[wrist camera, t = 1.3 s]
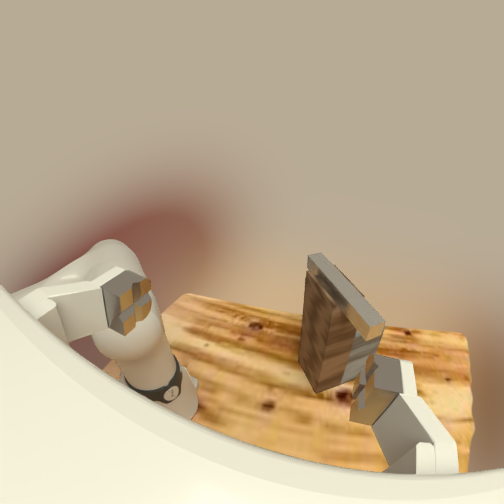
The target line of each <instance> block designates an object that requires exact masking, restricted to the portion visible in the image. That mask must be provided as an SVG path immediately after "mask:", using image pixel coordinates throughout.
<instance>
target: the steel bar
mask: <svg viewBox="0 0 504 504" xmlns="http://www.w3.org/2000/svg"><path fill="white" fill-rule="evenodd" d="M307 268H308V269H309V270H310V272H311V273H312V274H313V275H314V276H315V278H316V279H317V280H318V281H319V283H320V284H321V285H322V286H323V287H324V289H325V290H326V291H327V292H328V294H329V295H330V296H331V297H332V299H333V300H334V301H335V302H336V304H337V305H338V307H339V308H340V309H341V310H342V312H343V313H344V314H345V315H346V317H347V318H348V319H349V320H350V322H351V323H352V324H353V326H354V327H355V328H356V329H357V331H358V332H359V333H360V335H361V336H362V337H363V338H364V340H365V341H368V340H370V339H373V338H375V337H378V336H380V335H381V334H382V331H383V328H384V325H385V322H386V321H385V320H384V319H383V318H382V317H381V316H380V315H379V313H378V312H377V311H376V310H375V309H374V308H373V307H372V306H371V305H370V304H369V302H368V301H367V300H366V299H365V298H364V297H363V296H362V295H361V294H360V293H359V292H358V291H357V290H356V288H355V287H354V286H353V285H352V284H351V283H350V282H349V281H348V280H347V279H346V278H345V277H344V276H343V275H342V274H341V273H340V272H339V271H338V269H337V268H336V267H335V266H334V265H333V264H332V263H331V262H330V261H329V260H328V259H327V258H326V257H325V256H324V255H323V254H322V253H317V254H312V255H308V263H307Z"/></svg>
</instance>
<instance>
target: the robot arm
mask: <svg viewBox="0 0 504 504" xmlns="http://www.w3.org/2000/svg"><path fill="white" fill-rule="evenodd" d="M88 335H91V337H92V339H93V341H94V344H95V346H96V347H97V349H98V350H99V351H100V352H101V353H102V354H103V355H105V356H106V357H108V358H110V359H113V360H115V362H116V363H117V365H118V367H119V368H120V370H121V373H120V376H121V379H120V380H119V381H118V380H116V379H115V378H113V377H111V376H110V375H108V374H107V373H105V372H104V371H102V370H101V369H99V368H98V367H96V366H95V365H93V364H92V363H91V362H89V361H88V360H86V359H85V358H84V357H82V356H81V355H80V354H78V353H77V352H75V351H74V350H73V349H72V348H70V346H69V343H70V342H71V341H73V340H76V339H79V338H82V337H85V336H88ZM198 385H199V383H198V380H197V379H196V378H194V377H192V376H190V375H189V373H188V371H187V369H186V368H185V367H182V366H181V365H180V364H179V362H178V360H177V359H176V357H175V356H174V355H173V353H172V351H171V348H170V345H169V343H168V340H167V337H166V334H165V329H164V325H163V321H162V317H161V313H160V310H159V306H158V303H157V300H156V297H155V295H154V293H153V291H152V289H151V281H150V280H149V279H147V278H146V276H145V274H144V272H143V270H142V267H141V265H140V263H139V260H138V258H137V256H136V255H135V254H134V253H133V251H131V249H129V248H128V247H127V246H126V245H125V244H123V243H122V242H120V241H117V240H112V239H111V240H110V239H109V240H103V241H101V242H99V243H97V244H96V245H94V246H93V247H92V248H91V250H89V251H88V252H87V253H86V254H85V255H83V256H82V257H80V258H78V259H77V260H75V261H73V262H72V263H70V264H69V265H67V266H66V267H64V268H62V269H61V270H59V271H58V272H56V273H55V274H53V275H52V276H50V277H48V278H47V279H45V280H43V281H41V282H39V283H37V284H34V285H32V286H29V287H27V288H25V289H22V290H20V291H18V292H15V293H12V294H10V293H9V292H8V291H7V290H6V289H5V288H4V287H2V285H1V284H0V504H504V468H499V469H493V470H486V471H478V472H469V473H459V468H458V456H457V446H456V442H455V441H454V440H453V438H452V437H451V436H450V434H449V433H448V432H447V430H446V429H445V428H444V426H443V425H442V424H441V422H440V421H439V420H438V418H437V417H436V416H435V415H434V413H433V412H432V411H431V409H430V408H429V407H428V405H427V404H426V403H425V402H424V400H423V399H422V398H421V397H417V389H416V382H415V376H414V370H413V364H412V362H411V361H406V360H401V359H395V358H390V357H386V356H382V355H378V354H374V353H371V354H370V355H369V357H368V358H367V360H366V368H364V369H362V370H360V372H359V374H358V376H357V378H356V380H355V383H354V386H353V391H352V396H353V398H354V400H355V401H354V402H353V403H352V405H351V410H350V419H349V421H352V422H356V423H361V424H365V425H370V426H372V429H373V431H374V434H375V436H376V438H377V440H378V442H379V445H380V447H381V449H382V451H383V454H384V456H385V458H386V460H387V463H388V465H389V467H388V468H387V469H386V470H384V471H383V472H372V471H364V470H356V469H350V468H343V467H338V466H332V465H327V464H322V463H317V462H313V461H308V460H304V459H300V458H296V457H292V456H288V455H285V454H281V453H278V452H274V451H271V450H268V449H264V448H261V447H258V446H255V445H252V444H249V443H246V442H243V441H241V440H238V439H235V438H232V437H230V436H227V435H225V434H222V433H220V432H217V431H215V430H212V429H210V428H207V427H205V426H203V425H201V424H198V423H196V422H194V421H192V420H190V419H191V418H192V417H193V416H194V414H195V413H196V411H197V408H198V396H197V389H198Z"/></svg>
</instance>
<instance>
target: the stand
mask: <svg viewBox="0 0 504 504" xmlns="http://www.w3.org/2000/svg"><path fill="white" fill-rule="evenodd" d="M334 266H335V265H334ZM335 267H336V266H335ZM336 268H337V267H336ZM337 269H338V268H337ZM338 271H339V272H340V273H341V274H342V275H343V276H344V277H345V278H346V279H347V280H348V281H349V282H350V280H349V279H348V278H347V277H346V276H345V275H344V274H343V273H342V272H341V271H340V270H339V269H338ZM350 283H351V282H350ZM351 284H352V283H351ZM352 285H353V284H352ZM353 286H354V285H353ZM354 287H355V286H354ZM355 288H356V287H355ZM356 290H357V291H358V292H359V293H360V294H361V295H362V296H363V297H364V295H363V294H362V293H361V292H360V291H359V290H358V289H357V288H356ZM384 329H385V325H384V328H383V331H382V334H381V335H380V336H378V337H375V338H373V339H370V340H368V341H365V340H364V338H363V337H362V336H361V335H360V333H359V332H358V331H357V329H356V328H355V327H354V326H353V324H352V323H351V322H350V320H349V319H348V318H347V317H346V315H345V314H344V313H343V312H342V310H341V309H340V308H339V307H338V305H337V304H336V302H335V301H334V300H333V299H332V297H331V296H330V295H329V294H328V292H327V291H326V290H325V289H324V287H323V286H322V285H321V284H320V283H319V281H318V280H317V279H316V278H315V276H314V275H313V274H312V273H311V272H310V270H309V271H307V273H306V279H305V293H304V306H303V318H302V329H301V340H300V350H299V359H298V361H299V363H300V365H301V367H302V369H303V371H304V373H305V374H306V376H307V378H308V380H309V382H310V384H311V386H312V388H313V390H314V392H315V393H319V392H322V391H325V390H327V389H330V388H333V387H335V386H338V385H341V384H343V383H346V382H348V381H351V380H353V379H356V378H357V376H358V374H359V372H360V370H362V369H364V368H366V360H367V358H368V357H369V355H370V354H371V353H374V354H375V353H376V351H377V348H378V346H379V343H380V340H381V337H382V335H383V332H384Z"/></svg>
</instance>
